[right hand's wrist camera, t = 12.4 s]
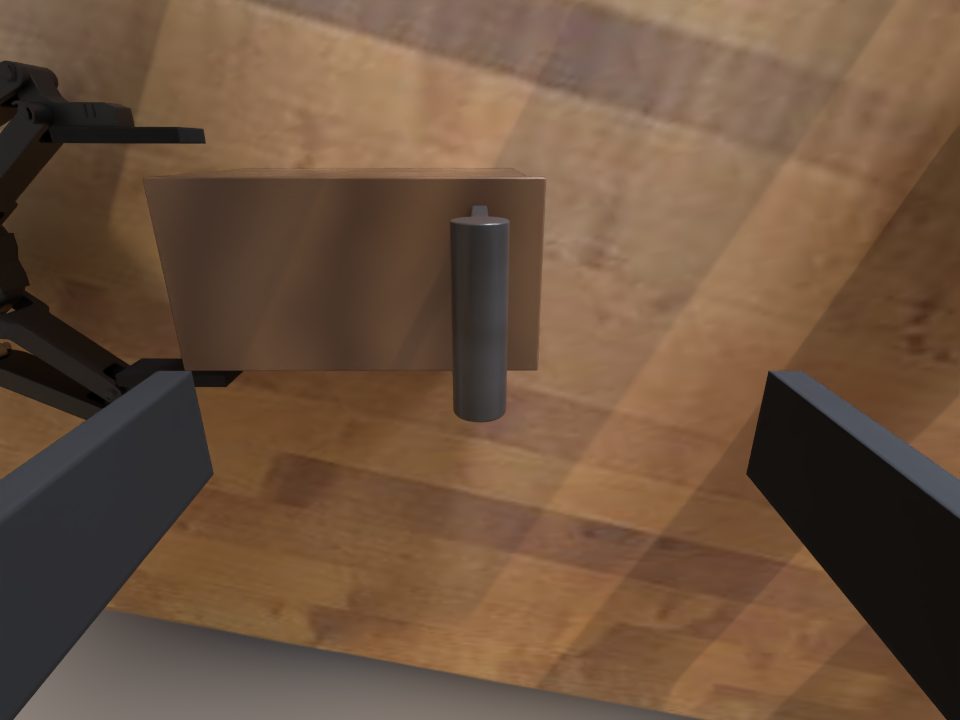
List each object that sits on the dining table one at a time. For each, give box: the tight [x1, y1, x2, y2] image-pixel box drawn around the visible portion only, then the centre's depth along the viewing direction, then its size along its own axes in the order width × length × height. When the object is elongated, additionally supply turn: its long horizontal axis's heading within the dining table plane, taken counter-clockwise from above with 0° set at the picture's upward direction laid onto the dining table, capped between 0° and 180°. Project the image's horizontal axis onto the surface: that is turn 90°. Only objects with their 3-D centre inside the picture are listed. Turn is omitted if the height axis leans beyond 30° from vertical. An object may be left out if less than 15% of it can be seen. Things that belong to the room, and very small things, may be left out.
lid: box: [143, 177, 546, 422], centre depth 23 cm, size 18×9×8 cm, turn 90°
